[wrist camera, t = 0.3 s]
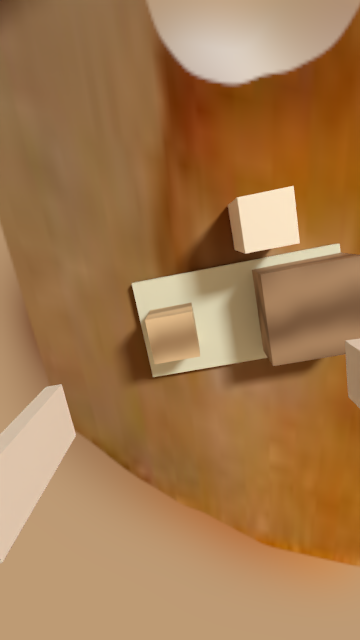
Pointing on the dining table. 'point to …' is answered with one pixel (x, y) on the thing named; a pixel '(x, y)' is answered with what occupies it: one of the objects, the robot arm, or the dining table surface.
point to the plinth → (308, 307)
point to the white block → (264, 220)
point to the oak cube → (172, 333)
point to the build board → (215, 309)
